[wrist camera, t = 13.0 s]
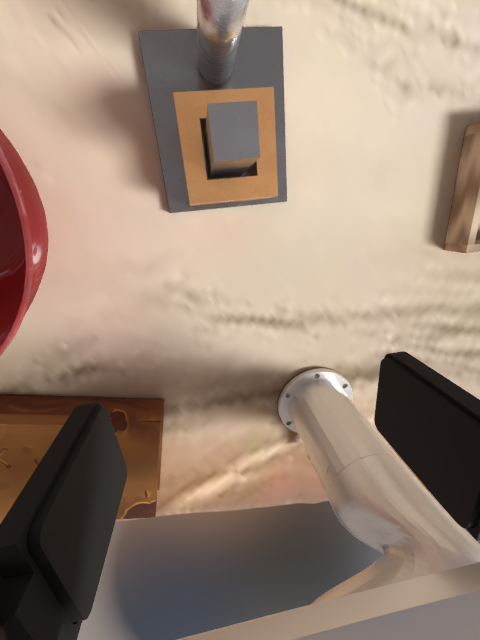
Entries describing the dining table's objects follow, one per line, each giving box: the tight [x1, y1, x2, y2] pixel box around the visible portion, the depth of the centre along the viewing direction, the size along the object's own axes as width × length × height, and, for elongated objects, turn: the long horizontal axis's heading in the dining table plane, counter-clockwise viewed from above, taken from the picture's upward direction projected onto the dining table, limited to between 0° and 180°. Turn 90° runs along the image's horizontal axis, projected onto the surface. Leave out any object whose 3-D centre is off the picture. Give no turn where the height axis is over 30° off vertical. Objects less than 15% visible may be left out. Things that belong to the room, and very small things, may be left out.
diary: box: [0, 395, 164, 524], centre depth 40 cm, size 23×19×6 cm
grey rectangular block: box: [204, 101, 260, 179], centre depth 25 cm, size 4×4×11 cm
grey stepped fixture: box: [138, 0, 287, 213], centre depth 22 cm, size 25×14×13 cm, turn 5°
